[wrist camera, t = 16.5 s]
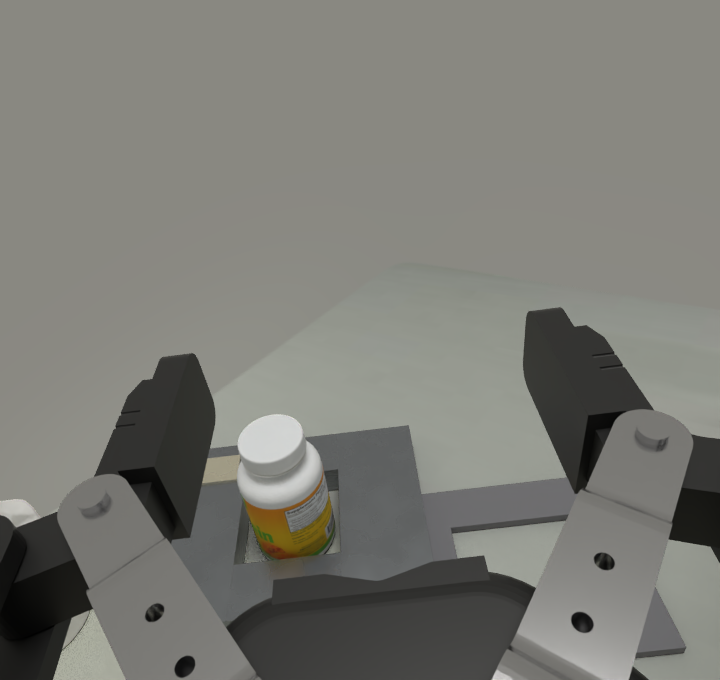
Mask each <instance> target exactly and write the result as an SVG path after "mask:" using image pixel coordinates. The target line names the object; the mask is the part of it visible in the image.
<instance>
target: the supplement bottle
mask: <svg viewBox="0 0 720 680" xmlns="http://www.w3.org/2000/svg"><path fill="white" fill-rule="evenodd" d="M238 451H239V454H240V457H241V462H240V465H239V467H238V471H237V483H238V487H239V490H240V493H241V496H242V499H243V502H244V504H245V507H246V510H247V513H248V515H249V518H250V521H251V524H252V527H253V529H254V532H255V535H256V538H257V541H258V544H259V546H260V549H261V551H262V552H263V554H264V555H265V557H266V558H267V559H268V560H270V561H271V560H280V559H289V558H297V557H306V556H315V555H323V554H324V553H325V552H326V551H327V549H328V548H329V547H330V545H331V543H332V541H333V538H334V534H335V521H334V515H333V510H332V506H331V502H330V497H329V493H328V488H327V484H326V479H325V474H324V469H323V465H322V461H321V458H320V456H319V453H318V452H317V450H316V449H315V447H314V446H313V445H312V444H311V443H309V442H308V441H306V439H305V436H304V433H303V429H302V427H301V425H300V423H299V422H298V421H297V420H295V419H294V418H292V417H290V416H287V415H280V414H275V415H268V416H264V417H261V418H259V419H257V420H255V421H253V422H252V423H250V424H249V425H248V426H247V427H246V428H245V429H244V430H243V431H242V433H241V434H240V436H239V439H238Z"/></svg>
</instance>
